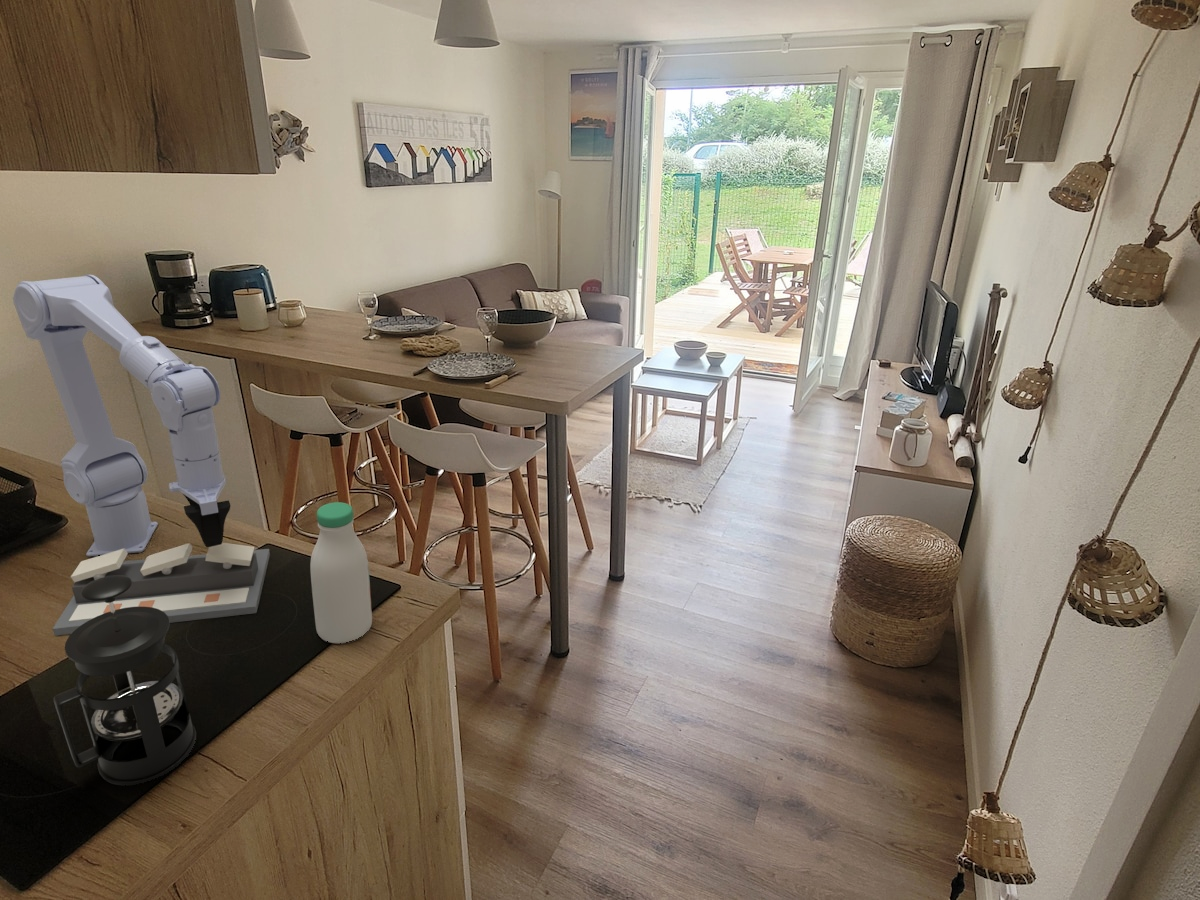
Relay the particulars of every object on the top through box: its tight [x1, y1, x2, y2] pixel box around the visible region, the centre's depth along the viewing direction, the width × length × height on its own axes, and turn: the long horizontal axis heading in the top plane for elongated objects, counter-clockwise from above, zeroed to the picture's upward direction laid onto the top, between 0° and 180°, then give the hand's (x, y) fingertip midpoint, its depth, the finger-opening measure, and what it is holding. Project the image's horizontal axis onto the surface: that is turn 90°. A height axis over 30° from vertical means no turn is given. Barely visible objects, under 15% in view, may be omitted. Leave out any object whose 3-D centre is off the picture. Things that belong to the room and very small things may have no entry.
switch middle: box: [140, 542, 193, 576], centre depth 100 cm, size 4×6×2 cm, turn 108°
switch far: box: [205, 542, 255, 569], centre depth 102 cm, size 4×6×2 cm, turn 108°
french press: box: [53, 575, 197, 787], centre depth 71 cm, size 12×9×23 cm
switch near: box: [70, 548, 129, 583], centre depth 97 cm, size 4×6×2 cm, turn 108°
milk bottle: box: [309, 501, 373, 644], centre depth 93 cm, size 8×8×20 cm
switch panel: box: [52, 548, 271, 637], centre depth 101 cm, size 16×25×4 cm, turn 108°
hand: (210, 534), depth 100 cm, fingers open, 6 cm apart
